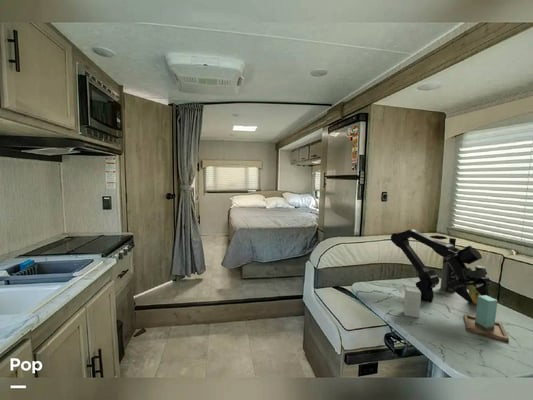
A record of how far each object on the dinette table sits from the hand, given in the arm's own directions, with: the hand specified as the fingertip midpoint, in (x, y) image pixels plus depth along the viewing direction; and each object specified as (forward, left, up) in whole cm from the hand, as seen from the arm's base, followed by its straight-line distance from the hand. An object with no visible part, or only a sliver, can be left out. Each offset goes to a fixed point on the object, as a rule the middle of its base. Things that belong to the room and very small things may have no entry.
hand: (480, 302), depth 111 cm
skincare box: (-25, -7, -11) cm, 28 cm away
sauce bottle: (+2, +23, -10) cm, 26 cm away
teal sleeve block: (+2, -2, -10) cm, 10 cm away
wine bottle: (-9, +35, -10) cm, 38 cm away
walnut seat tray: (+2, -2, -10) cm, 11 cm away
